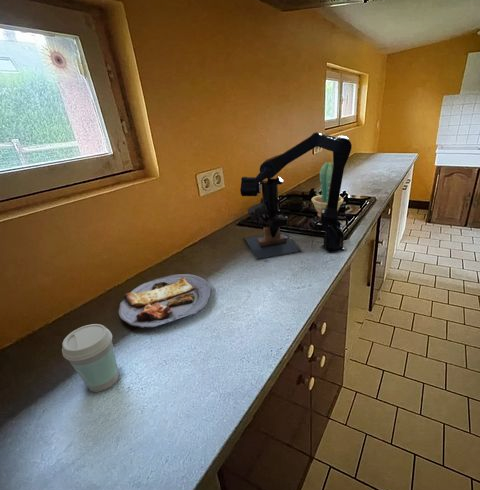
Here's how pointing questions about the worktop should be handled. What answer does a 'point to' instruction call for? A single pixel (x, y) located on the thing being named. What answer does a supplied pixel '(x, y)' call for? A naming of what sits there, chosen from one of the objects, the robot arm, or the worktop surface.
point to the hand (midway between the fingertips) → (272, 235)
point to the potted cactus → (325, 188)
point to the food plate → (164, 300)
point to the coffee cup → (92, 356)
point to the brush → (271, 238)
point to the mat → (271, 248)
